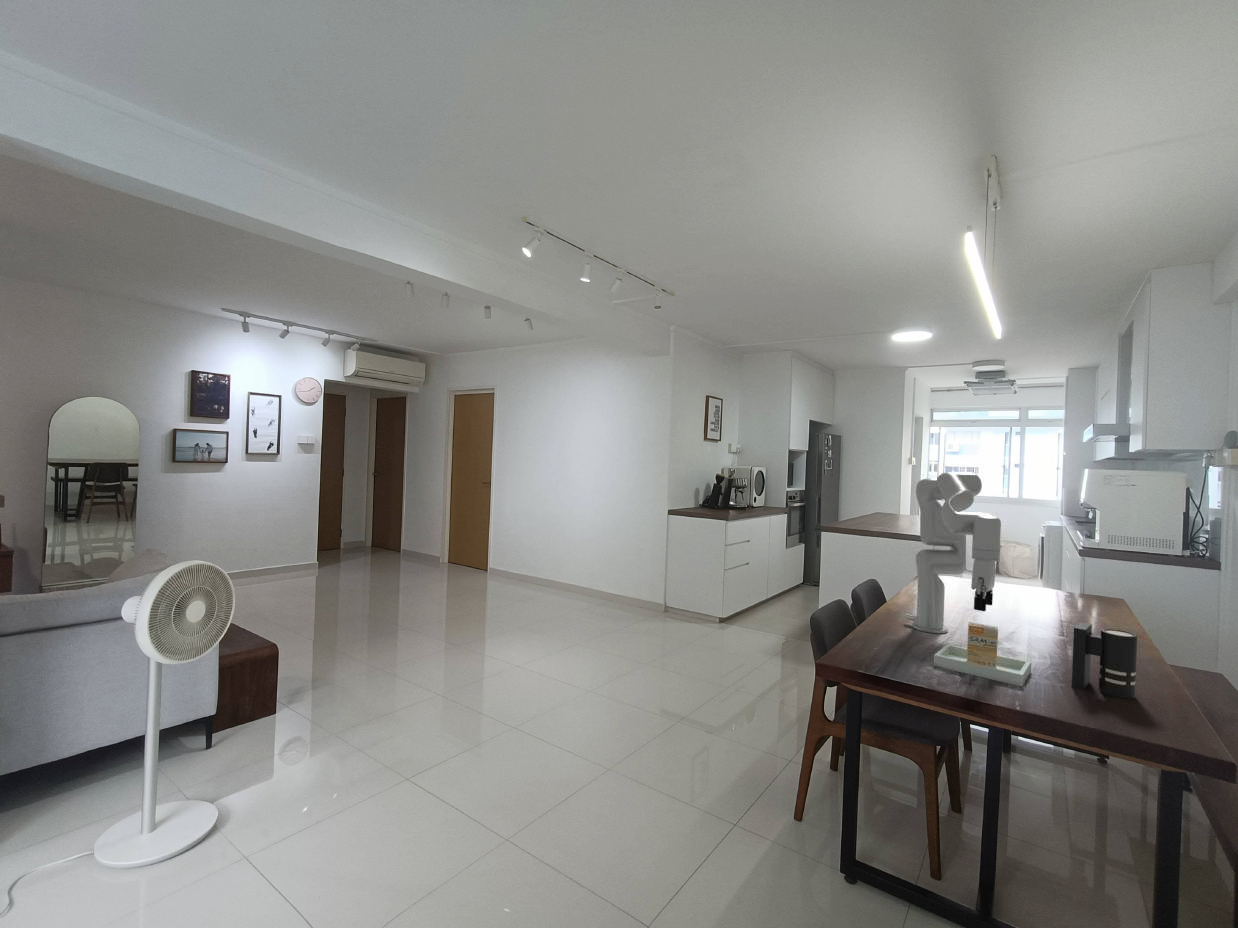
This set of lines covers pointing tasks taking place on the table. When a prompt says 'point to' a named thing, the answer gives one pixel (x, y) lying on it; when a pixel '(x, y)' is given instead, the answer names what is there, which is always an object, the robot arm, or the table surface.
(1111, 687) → the outdoor wall sconce
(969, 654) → the supplement box
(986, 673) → the tray
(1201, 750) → the table surface
